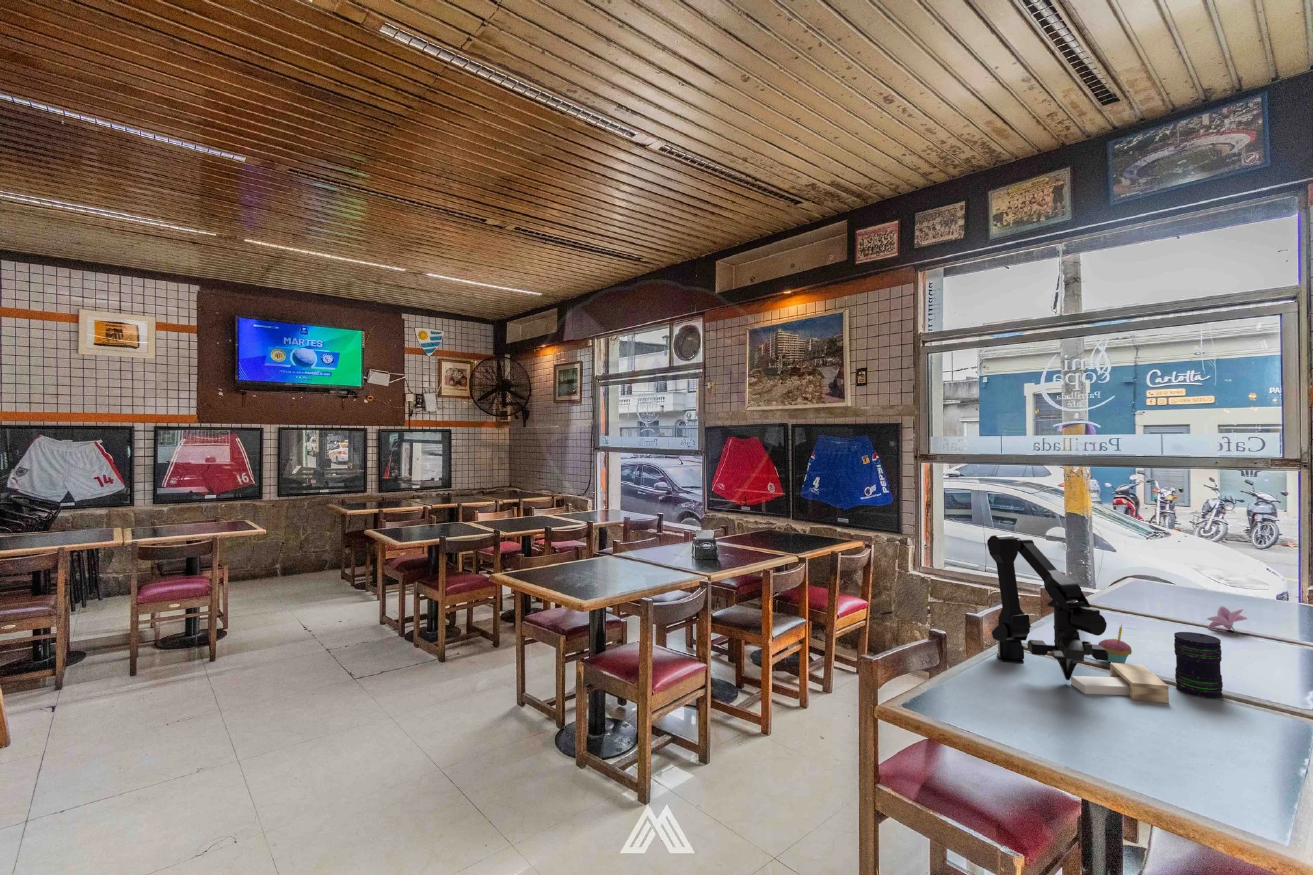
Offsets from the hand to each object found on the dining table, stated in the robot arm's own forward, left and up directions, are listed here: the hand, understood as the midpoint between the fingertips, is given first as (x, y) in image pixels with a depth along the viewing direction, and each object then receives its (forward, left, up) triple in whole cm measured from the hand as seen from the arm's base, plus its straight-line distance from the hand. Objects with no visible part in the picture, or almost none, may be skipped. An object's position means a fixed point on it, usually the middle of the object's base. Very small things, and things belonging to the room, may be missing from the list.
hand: (1067, 679), depth 177 cm
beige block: (+17, 0, -1) cm, 17 cm away
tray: (+10, -2, -1) cm, 10 cm away
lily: (+67, +69, -1) cm, 96 cm away
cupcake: (+19, +23, -1) cm, 30 cm away
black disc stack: (+32, +3, -1) cm, 32 cm away
